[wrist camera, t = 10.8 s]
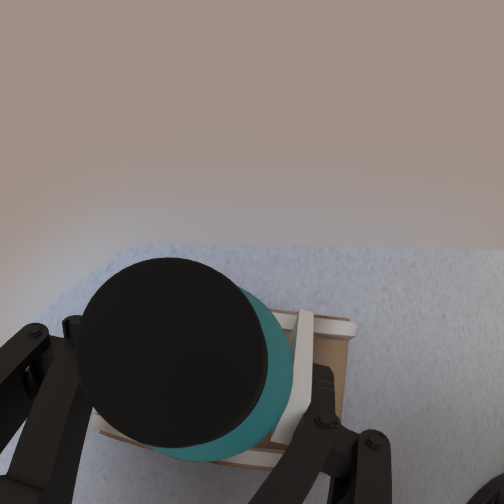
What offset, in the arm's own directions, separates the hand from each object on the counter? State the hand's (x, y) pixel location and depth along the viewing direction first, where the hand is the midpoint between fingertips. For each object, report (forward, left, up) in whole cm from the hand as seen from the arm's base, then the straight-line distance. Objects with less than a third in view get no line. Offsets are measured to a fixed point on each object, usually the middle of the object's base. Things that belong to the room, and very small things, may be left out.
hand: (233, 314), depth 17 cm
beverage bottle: (0, +4, -9) cm, 10 cm away
